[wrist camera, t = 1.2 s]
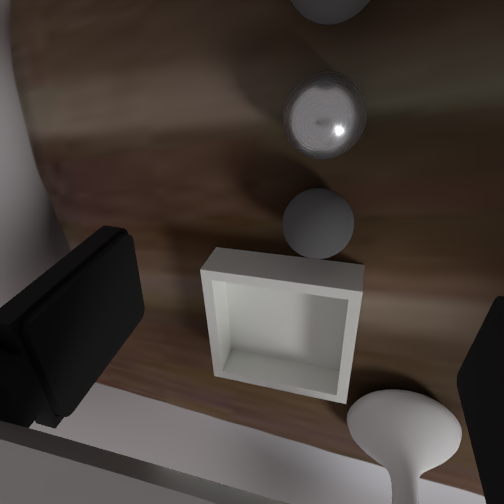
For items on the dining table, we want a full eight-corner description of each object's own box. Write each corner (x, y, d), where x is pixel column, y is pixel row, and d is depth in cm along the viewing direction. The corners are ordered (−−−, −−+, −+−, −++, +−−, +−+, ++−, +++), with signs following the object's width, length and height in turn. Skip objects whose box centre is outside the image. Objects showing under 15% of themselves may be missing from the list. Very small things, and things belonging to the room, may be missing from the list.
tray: (364, 264, 33) (362, 291, 29) (348, 373, 40) (346, 404, 37) (216, 247, 36) (200, 269, 33) (226, 349, 44) (214, 375, 40)
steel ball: (373, 66, 25) (371, 76, 20) (363, 148, 28) (360, 173, 23) (292, 67, 26) (274, 77, 22) (290, 145, 29) (274, 168, 25)
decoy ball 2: (359, 180, 29) (355, 209, 25) (352, 241, 32) (347, 277, 27) (290, 175, 30) (274, 202, 26) (289, 234, 33) (275, 267, 29)
